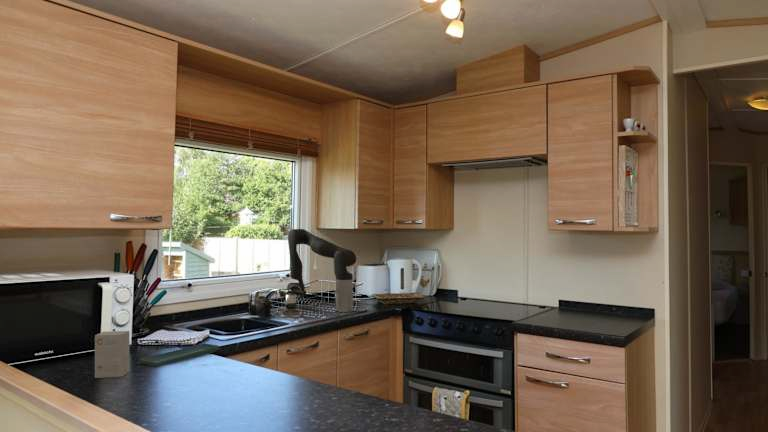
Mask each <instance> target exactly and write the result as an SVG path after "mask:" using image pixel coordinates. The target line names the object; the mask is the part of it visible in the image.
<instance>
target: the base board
mask: <svg viewBox="0 0 768 432" xmlns="http://www.w3.org/2000/svg"><path fill="white" fill-rule="evenodd" d="M284 317H285V318H301V317H302V312H301V311H300V314H299V315H293V316H286V315H282V313H281V315H280V318H281V319H282V318H284Z"/></svg>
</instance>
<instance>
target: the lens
mask: <svg viewBox="0 0 768 432" xmlns="http://www.w3.org/2000/svg"><path fill="white" fill-rule="evenodd" d="M285 310H286V312H296V310H297V299H296V294H286V297H285Z"/></svg>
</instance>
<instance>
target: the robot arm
mask: <svg viewBox="0 0 768 432" xmlns="http://www.w3.org/2000/svg"><path fill="white" fill-rule="evenodd" d="M287 241H288V243H287V244H288V250H289V259H290V278H291V279H293V280H296V281H298V282H289V283H288V284H287V287H286V291H284V290H281V291H280V292H279V297H280V298H282V297H283V298H286V294H296V300H297V299H298V298H301V297H307V290H306V288H305V283H304V280H303V262H302V260H301V258H300V256H299V253H298V249H297V248H298V245H306V246H308V247H310V250H311V251H312V252H314V253H315V254H316V255H319V256H321V257H324V258H330V259H333V270H334V271H333V272H334V275H335V312H337V311H338V312H339V313H349V312H354V292H353V291H354V288H353V287H354V286H353V285H354V284H353V283H354V282H353V281H354V277H353V273H350V272H349V271H348V269H347V267H352V266H354V265H355V264H356V262H357V256H356V253H355V252H354V251H352V250H351V249H348V248H345V247H341V246H338V245H336V244H335V243H333V242H330V241H329V240H327V239H324V238H322V237H319V236H317V235H314V234H312V233H311V232H309V231H308V230H306V229H303V228H294V229H290V230H289V232H288V234H287ZM287 289H288V291H287Z"/></svg>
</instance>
